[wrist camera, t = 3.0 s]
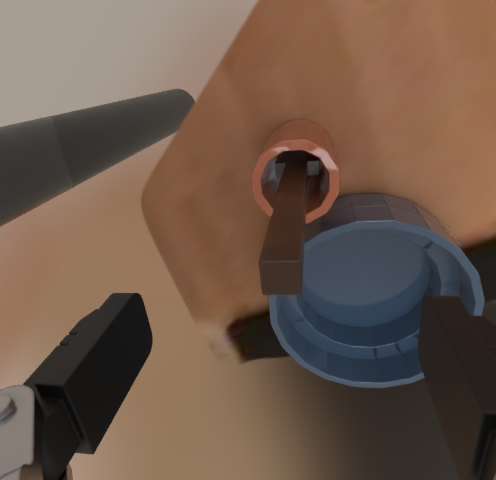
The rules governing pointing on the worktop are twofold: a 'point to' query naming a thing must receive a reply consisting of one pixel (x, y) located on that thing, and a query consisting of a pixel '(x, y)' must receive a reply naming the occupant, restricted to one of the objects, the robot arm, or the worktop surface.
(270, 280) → the stirring stick
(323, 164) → the utensil holder
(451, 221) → the worktop surface
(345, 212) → the bowl
